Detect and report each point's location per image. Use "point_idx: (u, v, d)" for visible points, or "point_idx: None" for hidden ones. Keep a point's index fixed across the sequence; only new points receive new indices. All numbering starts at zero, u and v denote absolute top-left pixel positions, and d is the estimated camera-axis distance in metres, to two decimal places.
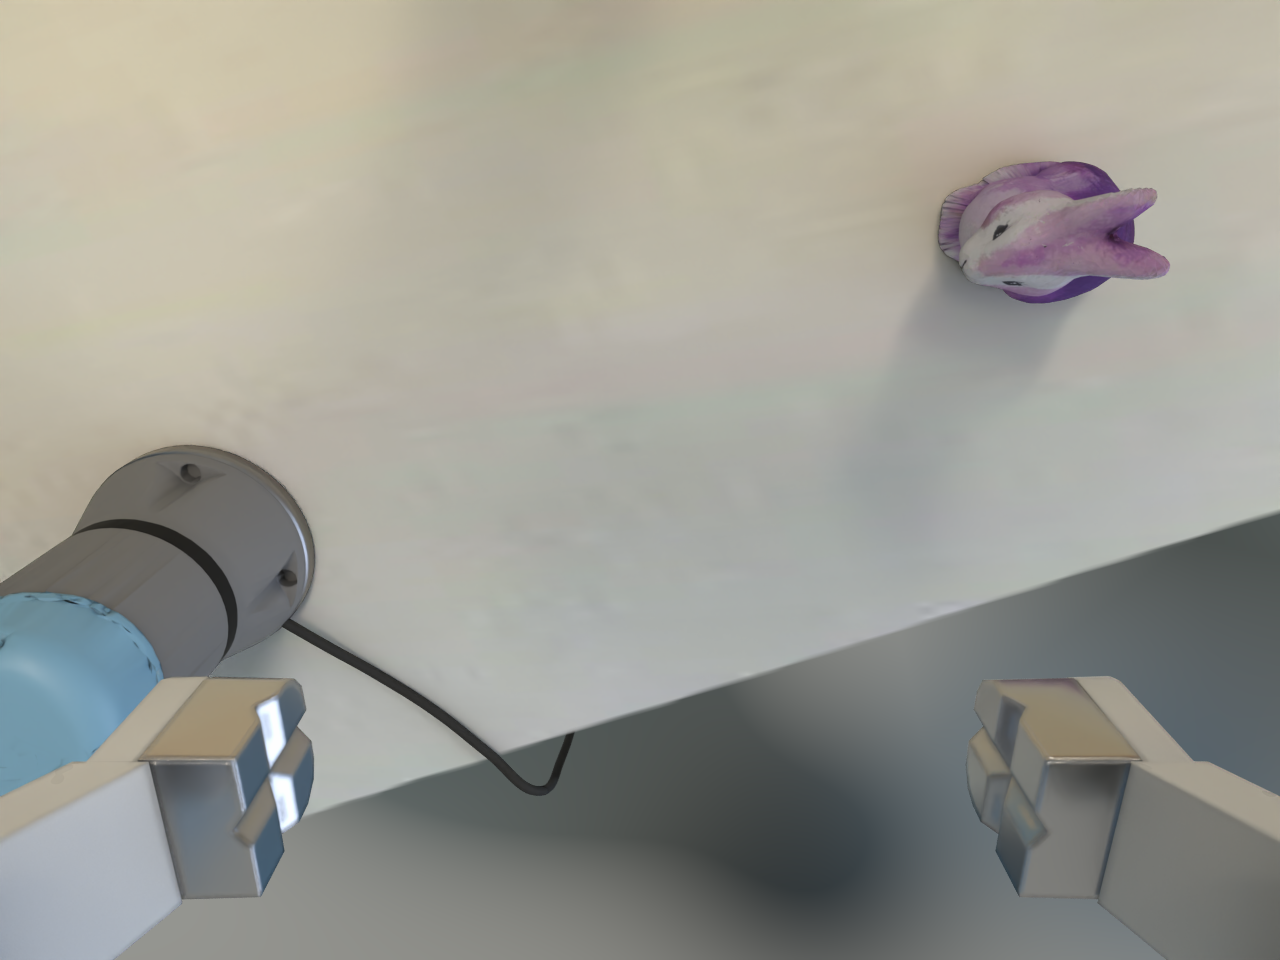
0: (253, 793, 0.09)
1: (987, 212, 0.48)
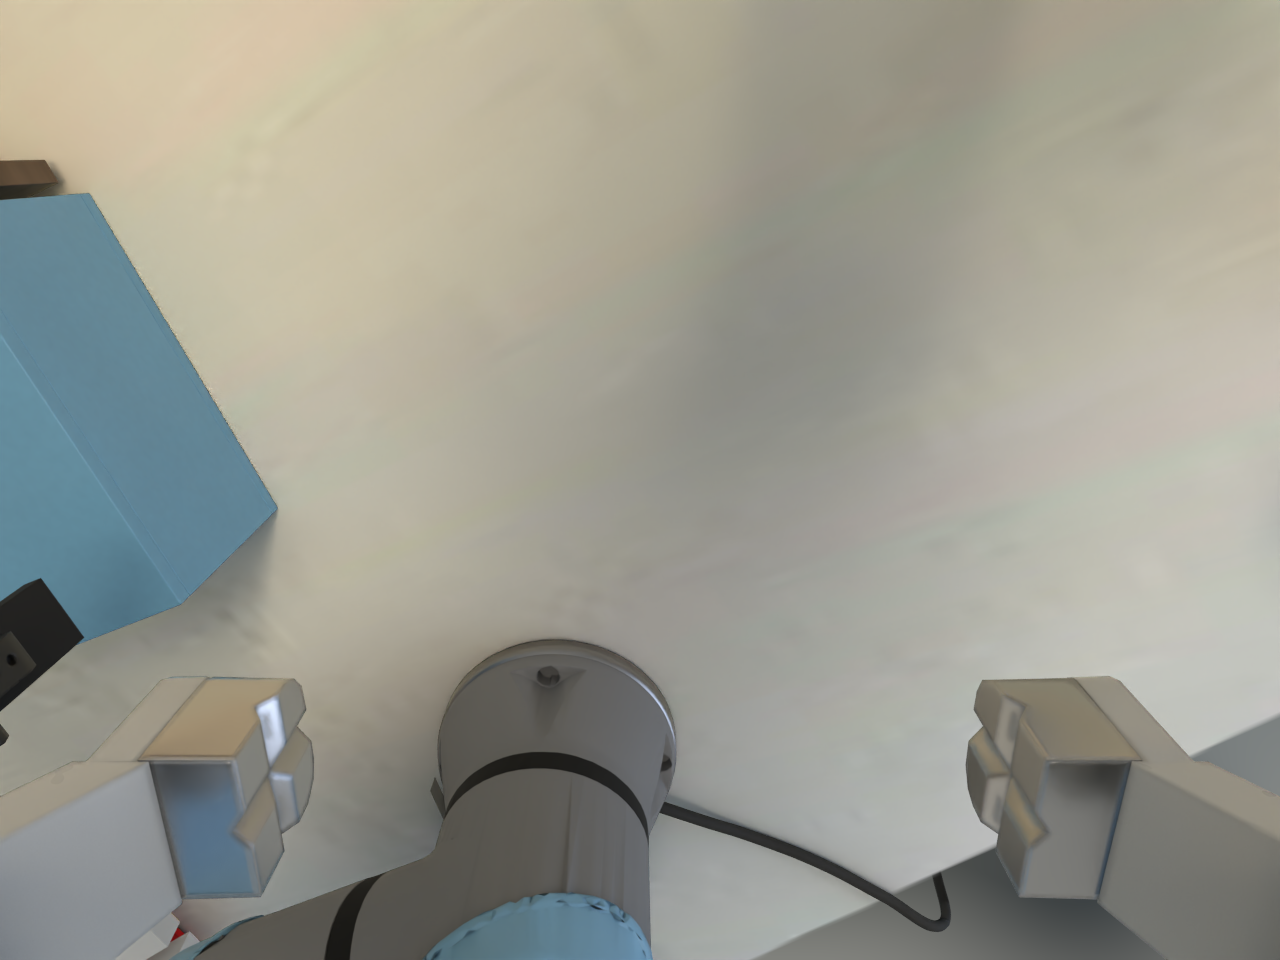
0: (253, 793, 0.09)
1: None
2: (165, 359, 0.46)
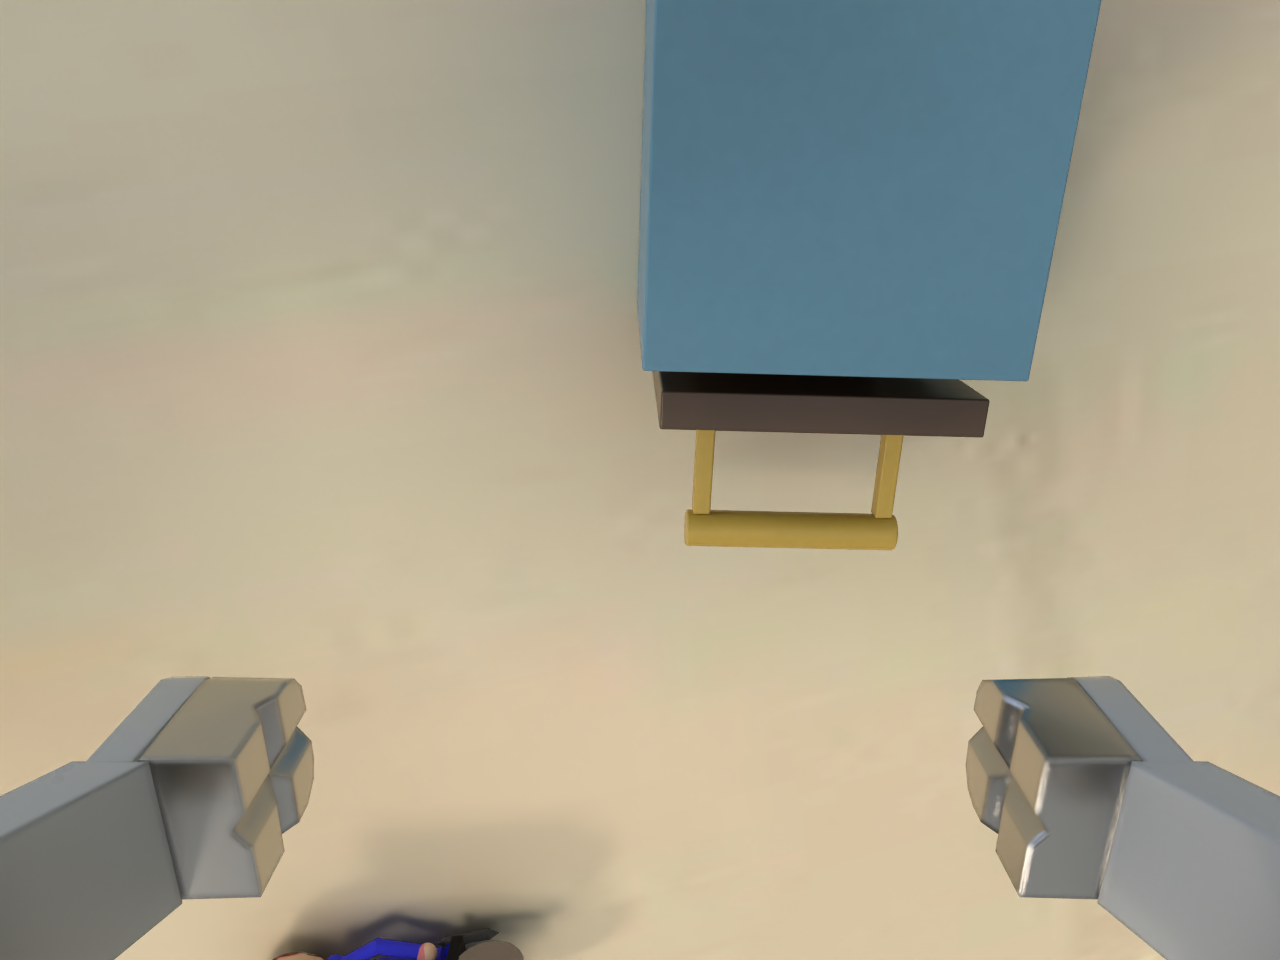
0: (253, 793, 0.09)
1: None
2: None
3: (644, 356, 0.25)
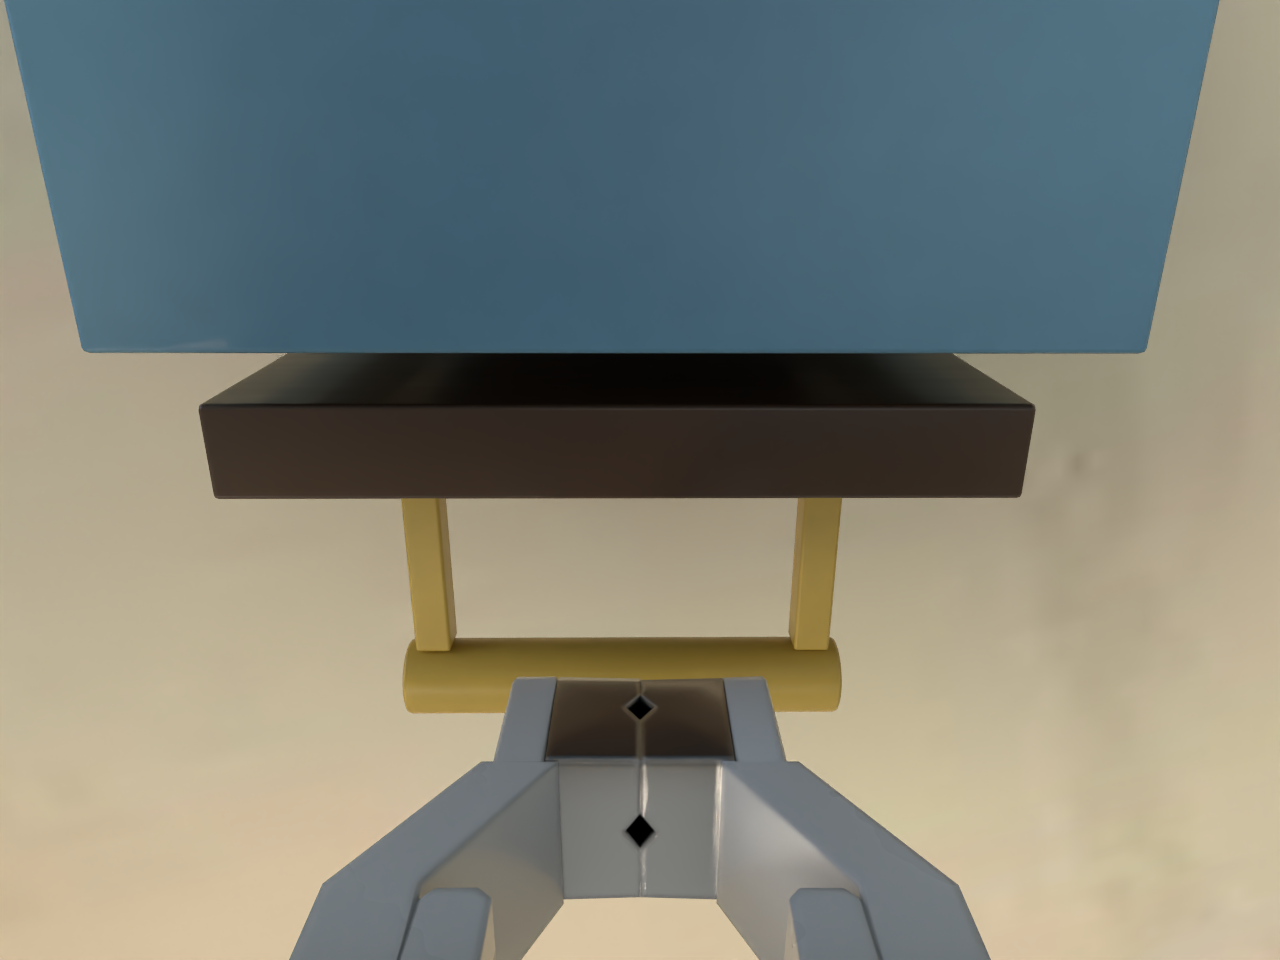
0: None
1: None
2: None
3: (75, 313, 0.09)
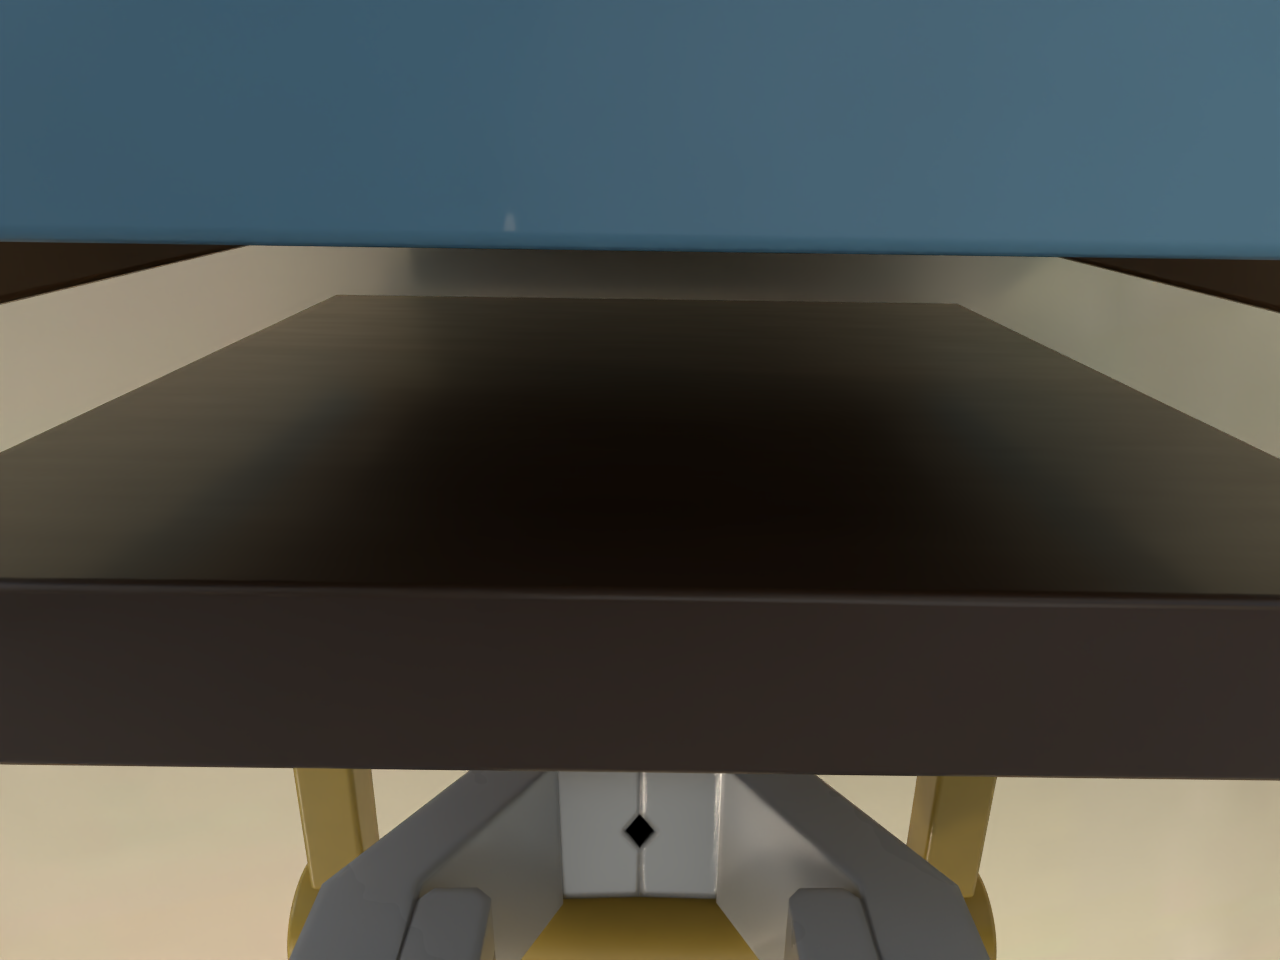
0: None
1: None
2: None
3: None
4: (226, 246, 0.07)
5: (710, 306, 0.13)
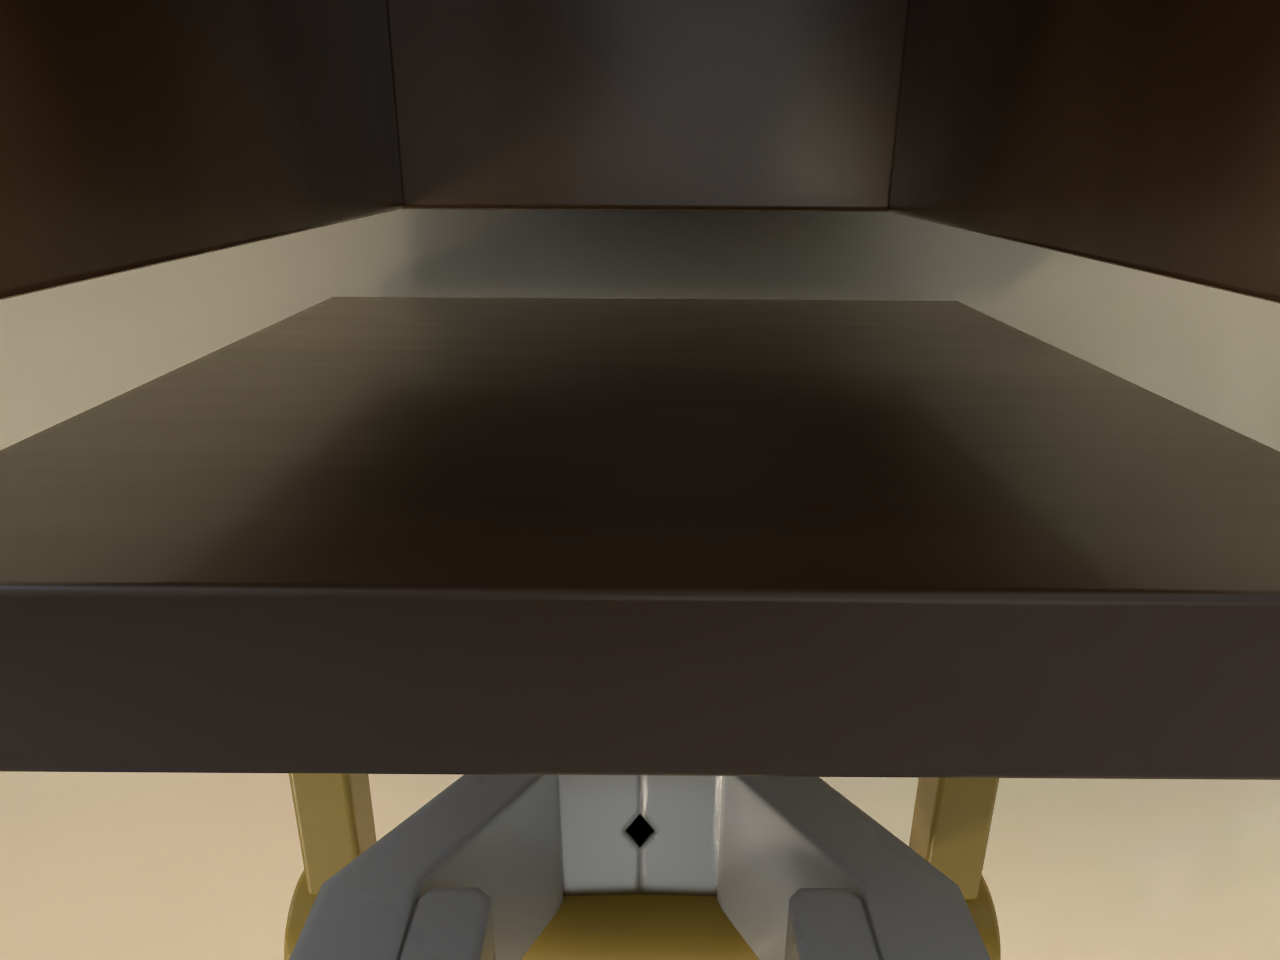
0: None
1: None
2: None
3: None
4: (215, 246, 0.07)
5: (708, 305, 0.13)
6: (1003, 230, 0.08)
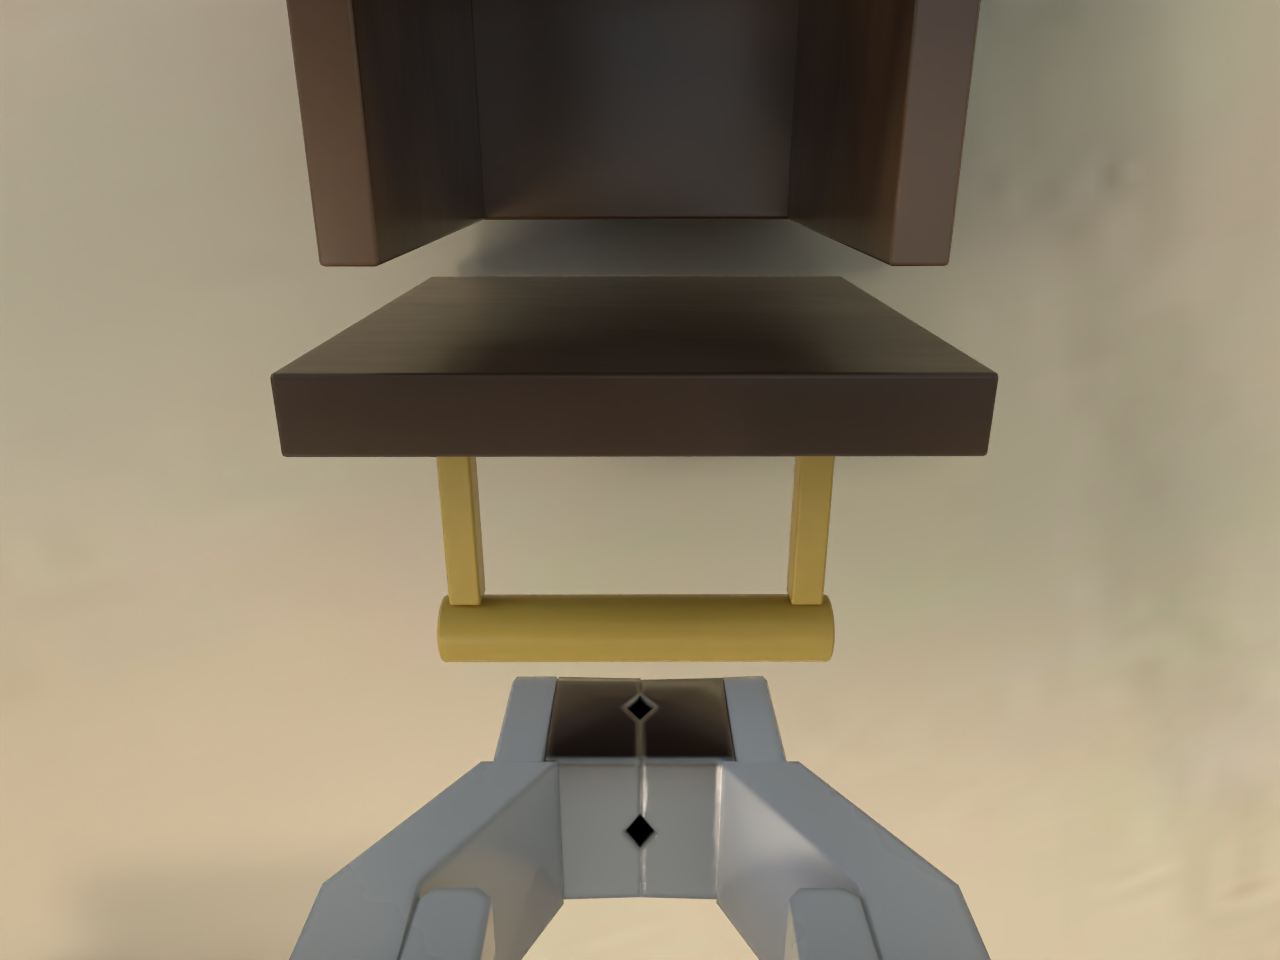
0: None
1: None
2: None
3: None
4: (425, 243, 0.14)
5: (677, 280, 0.20)
6: (824, 231, 0.15)
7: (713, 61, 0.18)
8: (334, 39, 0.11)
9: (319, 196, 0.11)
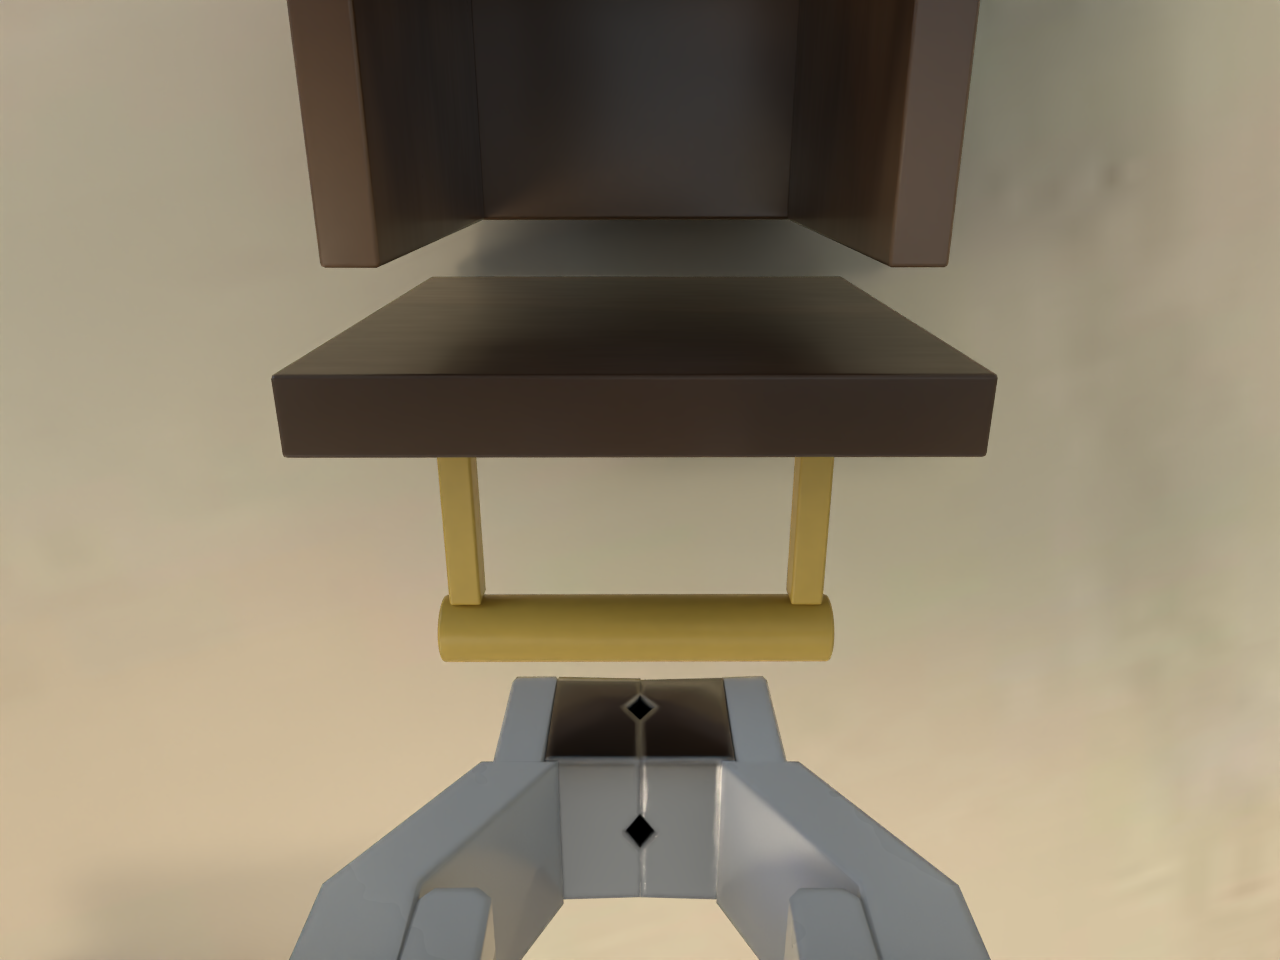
0: None
1: None
2: None
3: None
4: (426, 243, 0.14)
5: (676, 280, 0.20)
6: (824, 232, 0.15)
7: (713, 61, 0.18)
8: (334, 41, 0.11)
9: (319, 197, 0.11)
